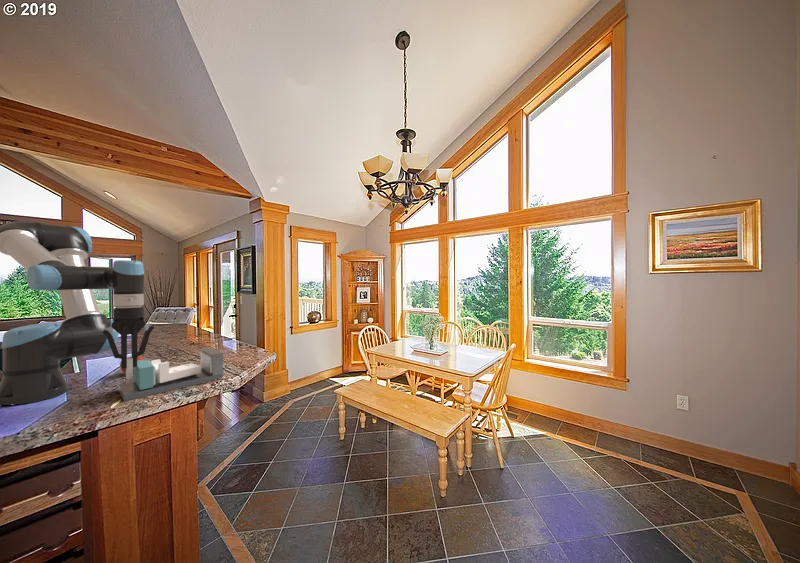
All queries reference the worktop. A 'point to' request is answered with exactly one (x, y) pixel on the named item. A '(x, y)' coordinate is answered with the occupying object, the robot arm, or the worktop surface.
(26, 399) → the robot arm
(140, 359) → the apple
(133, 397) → the vise base
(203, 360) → the block
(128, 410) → the worktop surface
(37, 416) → the worktop surface
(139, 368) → the block
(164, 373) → the bracket
